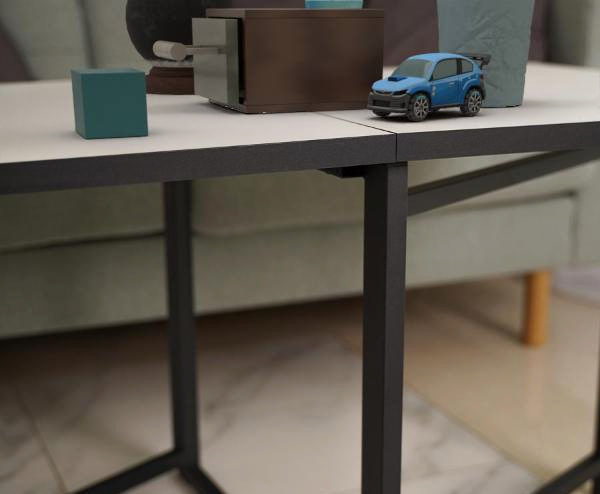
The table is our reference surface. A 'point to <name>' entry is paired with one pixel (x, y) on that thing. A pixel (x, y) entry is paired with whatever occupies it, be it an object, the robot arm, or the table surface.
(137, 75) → the block
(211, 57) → the drawer
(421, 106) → the toy car
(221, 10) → the cabinet
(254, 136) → the table surface
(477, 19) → the grey-green crumpled block
